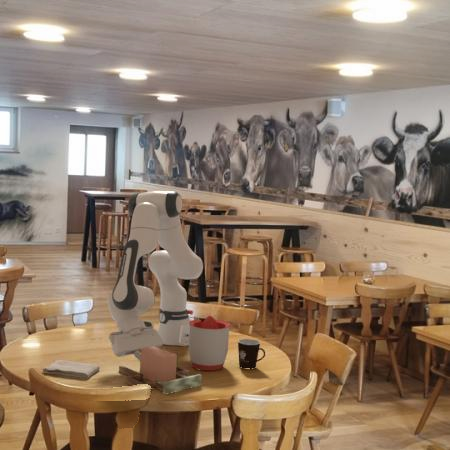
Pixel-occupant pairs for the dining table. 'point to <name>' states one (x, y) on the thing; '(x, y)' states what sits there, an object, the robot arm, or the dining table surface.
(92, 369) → the washcloth
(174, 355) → the terracotta block
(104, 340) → the dining table surface
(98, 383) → the dining table surface
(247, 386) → the dining table surface
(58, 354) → the dining table surface
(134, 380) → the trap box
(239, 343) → the coffee mug
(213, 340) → the citrus juicer
